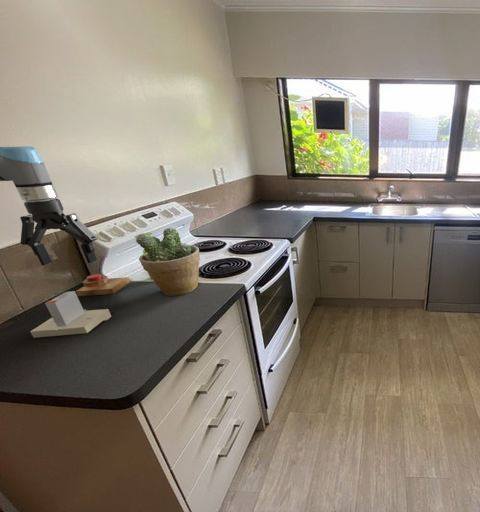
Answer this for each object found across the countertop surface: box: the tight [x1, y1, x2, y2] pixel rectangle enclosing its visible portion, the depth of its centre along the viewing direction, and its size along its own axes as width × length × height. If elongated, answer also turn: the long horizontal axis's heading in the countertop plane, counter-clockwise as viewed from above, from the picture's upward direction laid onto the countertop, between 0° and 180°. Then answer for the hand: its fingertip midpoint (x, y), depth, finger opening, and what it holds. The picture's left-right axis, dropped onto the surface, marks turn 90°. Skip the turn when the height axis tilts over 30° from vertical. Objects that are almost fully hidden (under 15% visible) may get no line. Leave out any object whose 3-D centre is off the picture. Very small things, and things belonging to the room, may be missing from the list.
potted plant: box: [135, 227, 201, 297], centre depth 109 cm, size 18×19×25 cm
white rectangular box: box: [44, 290, 85, 326], centre depth 88 cm, size 7×2×8 cm, turn 9°
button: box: [86, 273, 102, 282], centre depth 113 cm, size 4×4×2 cm
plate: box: [29, 308, 112, 339], centre depth 90 cm, size 14×11×3 cm
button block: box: [75, 274, 131, 297], centre depth 113 cm, size 12×10×4 cm
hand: (70, 262), depth 97 cm, fingers open, 13 cm apart
